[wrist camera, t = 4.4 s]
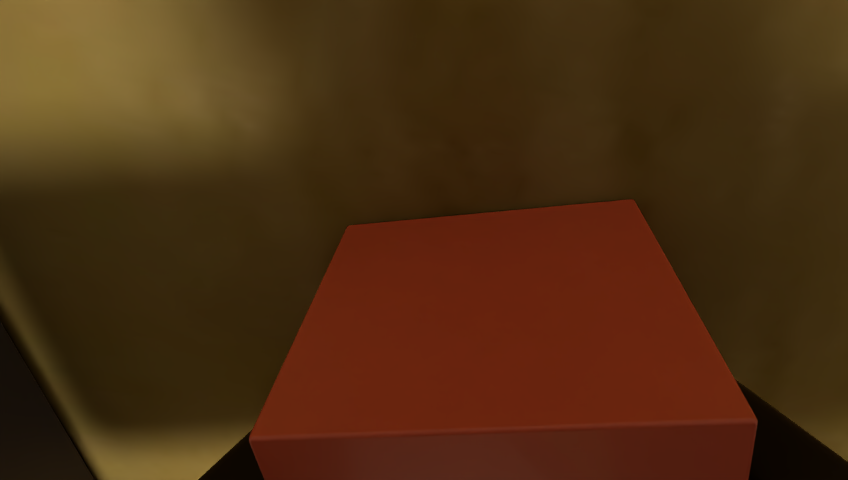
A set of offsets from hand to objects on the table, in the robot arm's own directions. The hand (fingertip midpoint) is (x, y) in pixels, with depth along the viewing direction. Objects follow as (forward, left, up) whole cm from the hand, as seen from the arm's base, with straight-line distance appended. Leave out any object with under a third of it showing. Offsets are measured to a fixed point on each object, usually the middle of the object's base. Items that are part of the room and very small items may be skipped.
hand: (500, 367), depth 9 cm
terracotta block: (0, 0, -1) cm, 1 cm away
